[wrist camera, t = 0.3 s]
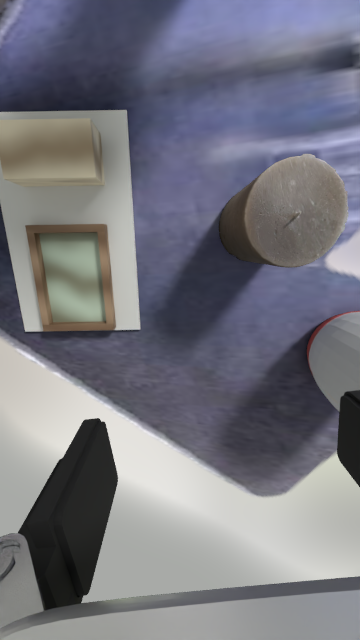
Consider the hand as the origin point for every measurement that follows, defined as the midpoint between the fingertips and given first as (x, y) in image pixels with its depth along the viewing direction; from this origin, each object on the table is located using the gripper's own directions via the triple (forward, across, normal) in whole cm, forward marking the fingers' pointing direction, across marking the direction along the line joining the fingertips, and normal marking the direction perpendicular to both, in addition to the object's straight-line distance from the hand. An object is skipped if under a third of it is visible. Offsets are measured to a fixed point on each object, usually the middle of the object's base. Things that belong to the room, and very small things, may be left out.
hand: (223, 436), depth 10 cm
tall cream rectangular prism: (+30, +15, -20) cm, 39 cm away
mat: (+30, +16, -11) cm, 36 cm away
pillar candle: (+30, -10, -9) cm, 33 cm away
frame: (+30, +16, -5) cm, 35 cm away
